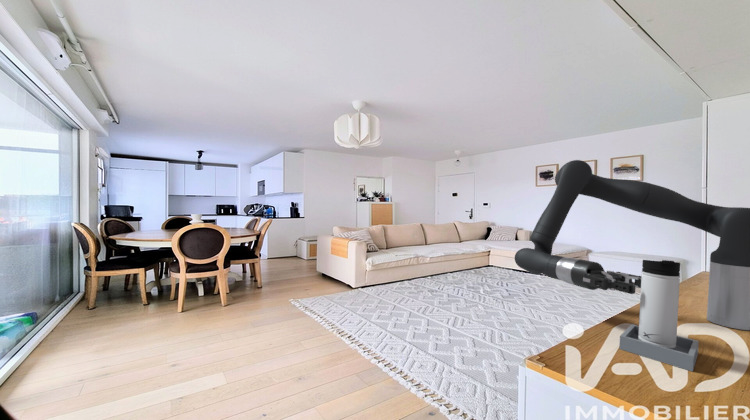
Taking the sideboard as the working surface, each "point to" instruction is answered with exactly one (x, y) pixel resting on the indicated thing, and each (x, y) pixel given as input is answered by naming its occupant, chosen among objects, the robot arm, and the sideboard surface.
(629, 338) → the tray
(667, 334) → the travel mug
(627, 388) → the sideboard surface
